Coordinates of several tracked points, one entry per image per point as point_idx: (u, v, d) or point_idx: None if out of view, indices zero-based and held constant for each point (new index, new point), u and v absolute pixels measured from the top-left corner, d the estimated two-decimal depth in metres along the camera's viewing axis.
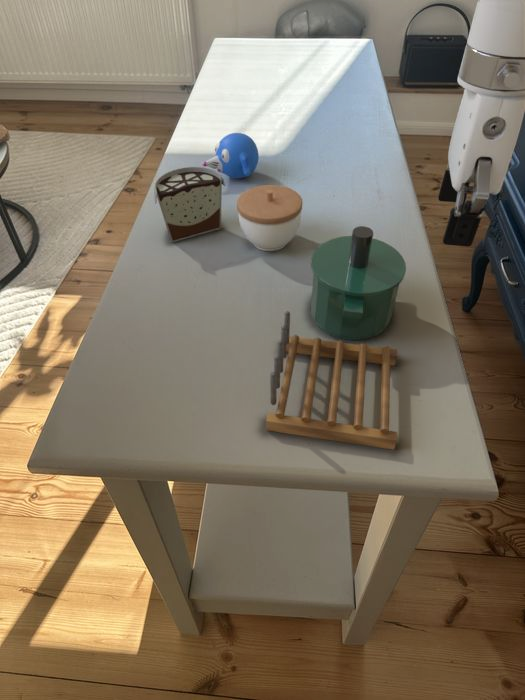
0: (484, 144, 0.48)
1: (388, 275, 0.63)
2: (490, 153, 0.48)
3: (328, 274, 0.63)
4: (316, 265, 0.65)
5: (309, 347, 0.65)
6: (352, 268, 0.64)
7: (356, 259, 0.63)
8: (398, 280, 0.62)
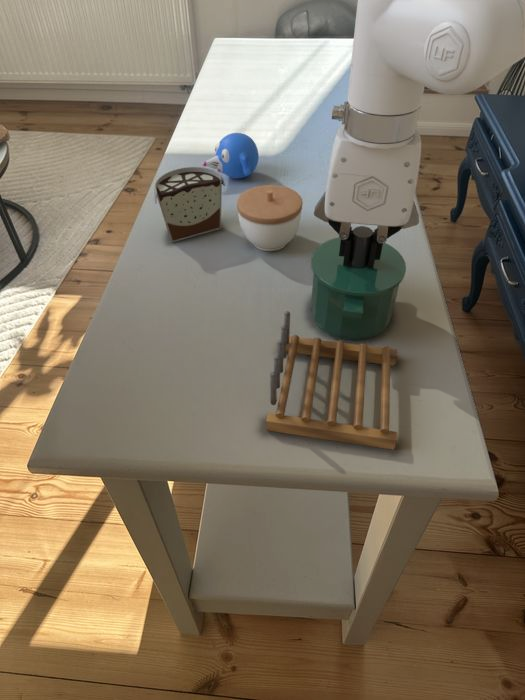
0: None
1: (388, 275, 0.63)
2: None
3: (328, 274, 0.63)
4: (316, 265, 0.65)
5: (309, 347, 0.65)
6: (352, 268, 0.64)
7: (356, 259, 0.63)
8: (398, 280, 0.62)
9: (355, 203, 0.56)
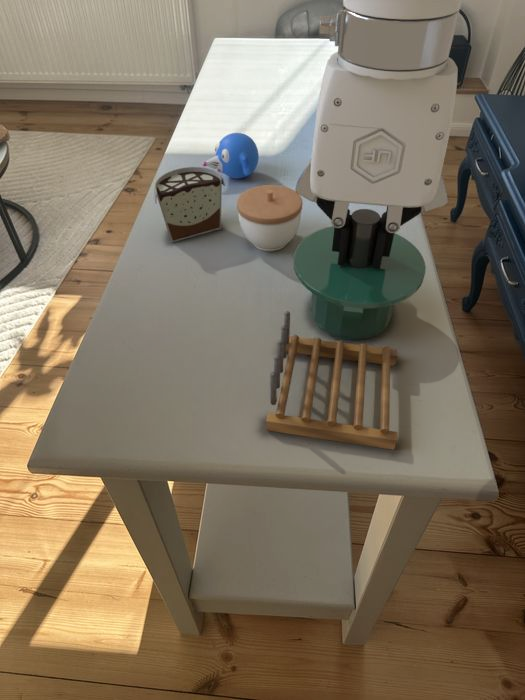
0: None
1: (401, 278, 0.45)
2: None
3: (317, 276, 0.45)
4: (301, 263, 0.46)
5: (309, 347, 0.65)
6: (350, 268, 0.46)
7: (357, 255, 0.45)
8: (415, 285, 0.44)
9: (355, 172, 0.37)
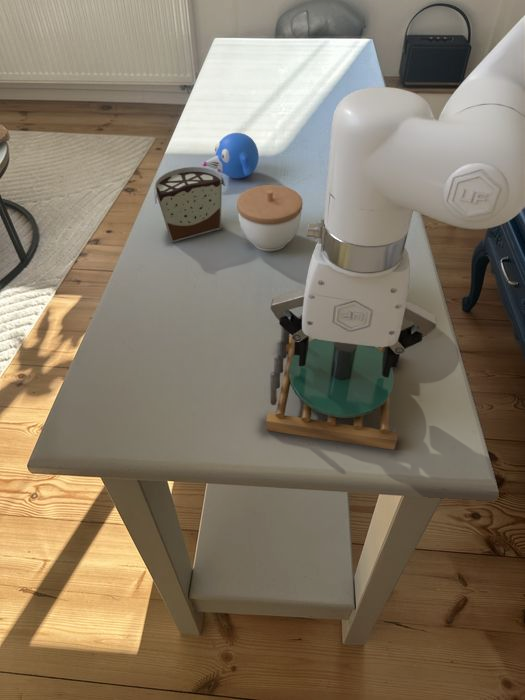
0: None
1: (374, 390, 0.56)
2: None
3: (307, 388, 0.57)
4: (295, 375, 0.58)
5: None
6: (334, 379, 0.57)
7: (339, 371, 0.56)
8: (385, 397, 0.55)
9: (336, 324, 0.49)
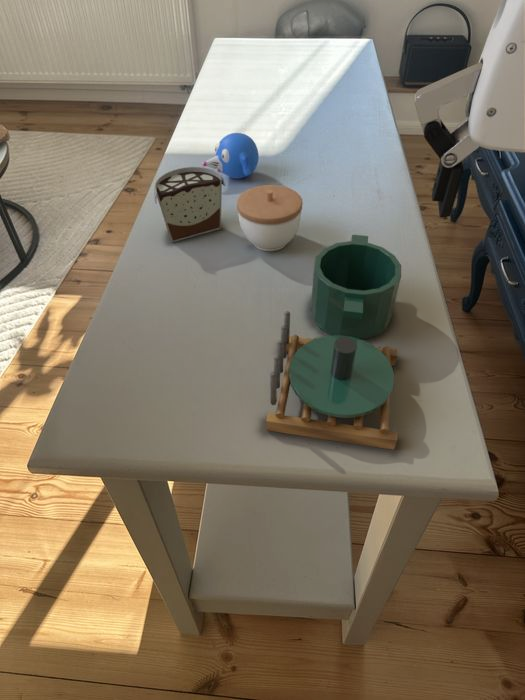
0: (489, 35, 0.30)
1: (374, 390, 0.56)
2: (485, 54, 0.30)
3: (307, 388, 0.57)
4: (295, 375, 0.58)
5: None
6: (334, 379, 0.57)
7: (339, 371, 0.56)
8: (385, 397, 0.55)
9: None
